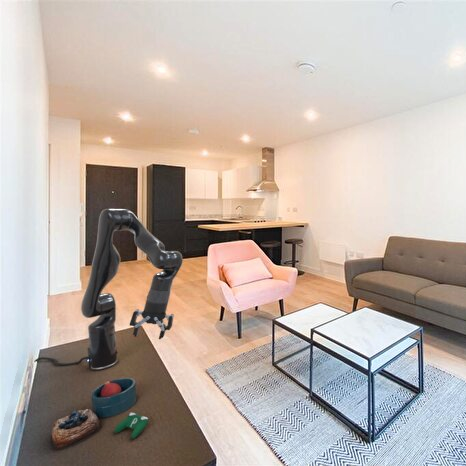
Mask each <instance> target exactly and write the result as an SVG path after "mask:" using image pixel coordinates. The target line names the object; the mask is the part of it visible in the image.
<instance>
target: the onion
mask: <svg viewBox="0 0 466 466" xmlns="http://www.w3.org/2000/svg"><path fill="white" fill-rule="evenodd" d="M109 381H110V380H108V381H106V382H105V383H106V384H105V383H104V384H105V386H104V387H103V389H102V391H101V397H109V396H113V395H116V394H119V393H121V387H120V386H119V385H118V384H116V383H110V382H109Z"/></svg>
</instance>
